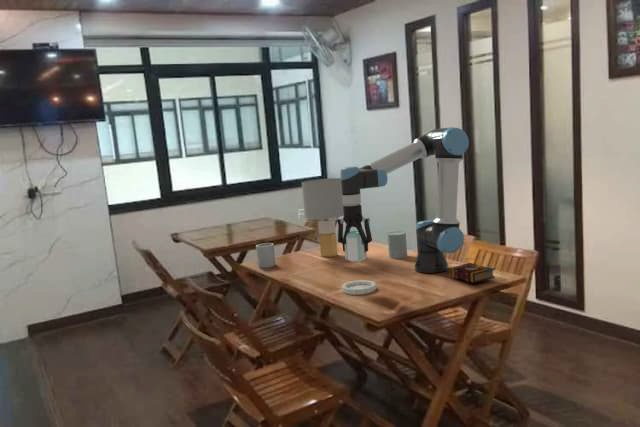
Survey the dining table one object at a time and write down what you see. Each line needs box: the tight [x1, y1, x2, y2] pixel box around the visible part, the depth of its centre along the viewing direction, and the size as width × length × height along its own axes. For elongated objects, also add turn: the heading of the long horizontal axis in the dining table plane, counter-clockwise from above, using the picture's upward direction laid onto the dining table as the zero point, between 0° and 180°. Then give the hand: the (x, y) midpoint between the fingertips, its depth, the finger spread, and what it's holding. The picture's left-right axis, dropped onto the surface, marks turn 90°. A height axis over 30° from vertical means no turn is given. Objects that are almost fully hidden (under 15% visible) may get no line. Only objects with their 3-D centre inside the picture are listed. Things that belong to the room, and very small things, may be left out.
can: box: [346, 230, 364, 263], centre depth 231 cm, size 7×7×12 cm
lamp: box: [301, 177, 344, 258], centre depth 300 cm, size 23×23×42 cm
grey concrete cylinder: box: [387, 231, 408, 260], centre depth 288 cm, size 10×10×12 cm
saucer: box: [341, 279, 377, 296], centre depth 233 cm, size 14×14×2 cm
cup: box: [255, 242, 276, 269], centre depth 290 cm, size 9×9×12 cm
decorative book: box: [450, 262, 496, 283], centre depth 237 cm, size 11×16×5 cm
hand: (356, 259), depth 232 cm, fingers closed on can, 7 cm apart
